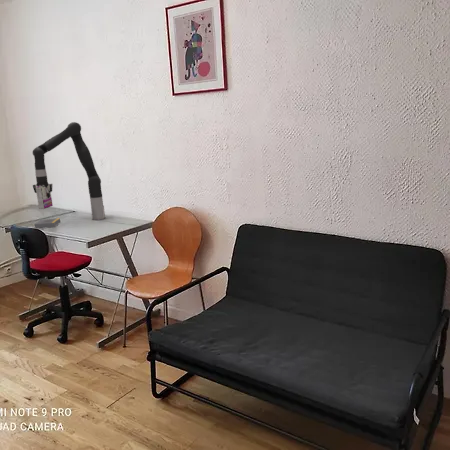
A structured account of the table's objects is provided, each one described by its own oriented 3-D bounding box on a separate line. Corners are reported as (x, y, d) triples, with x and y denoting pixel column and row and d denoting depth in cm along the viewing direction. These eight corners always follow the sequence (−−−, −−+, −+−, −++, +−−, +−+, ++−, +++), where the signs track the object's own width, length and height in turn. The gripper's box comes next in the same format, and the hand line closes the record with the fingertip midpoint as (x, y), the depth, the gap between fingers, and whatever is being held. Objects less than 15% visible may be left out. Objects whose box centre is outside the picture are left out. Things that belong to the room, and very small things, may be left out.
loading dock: (60, 222, 355) (59, 217, 354) (54, 227, 340) (53, 222, 339) (41, 223, 354) (41, 218, 354) (34, 228, 339) (34, 223, 338)
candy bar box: (46, 205, 350) (44, 184, 346) (52, 205, 349) (50, 184, 345) (38, 209, 339) (35, 186, 335) (44, 209, 338) (41, 186, 334)
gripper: (52, 174, 342) (55, 196, 346) (33, 175, 342) (36, 197, 346) (49, 175, 335) (52, 198, 339) (29, 176, 334) (32, 199, 338)
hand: (44, 198), depth 342 cm, fingers closed on candy bar box, 5 cm apart
